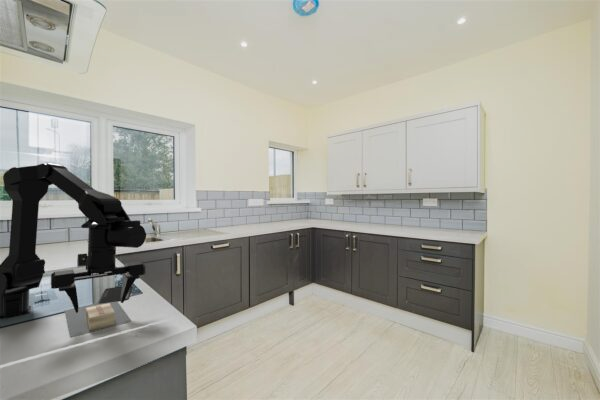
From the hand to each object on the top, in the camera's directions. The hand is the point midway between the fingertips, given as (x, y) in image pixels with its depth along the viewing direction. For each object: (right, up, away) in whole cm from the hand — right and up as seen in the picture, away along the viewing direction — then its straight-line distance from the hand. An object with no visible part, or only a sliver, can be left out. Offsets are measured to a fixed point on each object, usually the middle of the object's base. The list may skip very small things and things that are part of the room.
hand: (100, 307), depth 67 cm
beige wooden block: (0, -4, 0) cm, 4 cm away
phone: (-10, -5, +20) cm, 23 cm away
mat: (-4, -4, +4) cm, 7 cm away
